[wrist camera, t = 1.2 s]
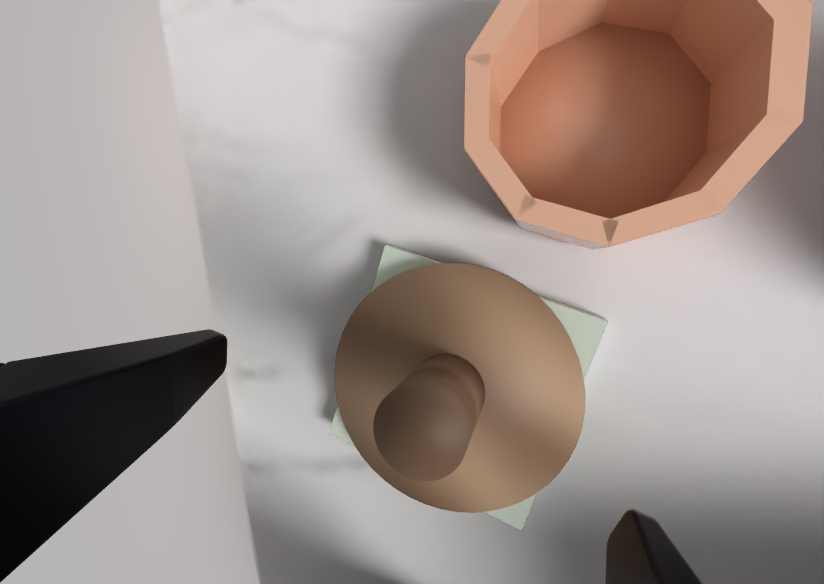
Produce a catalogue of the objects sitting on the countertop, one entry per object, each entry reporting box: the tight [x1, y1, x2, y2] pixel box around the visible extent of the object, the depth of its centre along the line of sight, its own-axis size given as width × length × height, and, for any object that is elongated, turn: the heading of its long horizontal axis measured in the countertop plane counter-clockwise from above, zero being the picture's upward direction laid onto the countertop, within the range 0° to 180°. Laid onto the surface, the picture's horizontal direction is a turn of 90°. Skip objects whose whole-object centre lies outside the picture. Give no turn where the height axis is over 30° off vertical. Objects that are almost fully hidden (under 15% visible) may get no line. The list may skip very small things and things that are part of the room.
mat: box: [329, 245, 608, 530], centre depth 18 cm, size 10×10×1 cm
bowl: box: [464, 0, 813, 249], centre depth 14 cm, size 9×10×5 cm
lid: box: [335, 263, 585, 513], centre depth 15 cm, size 11×11×5 cm
